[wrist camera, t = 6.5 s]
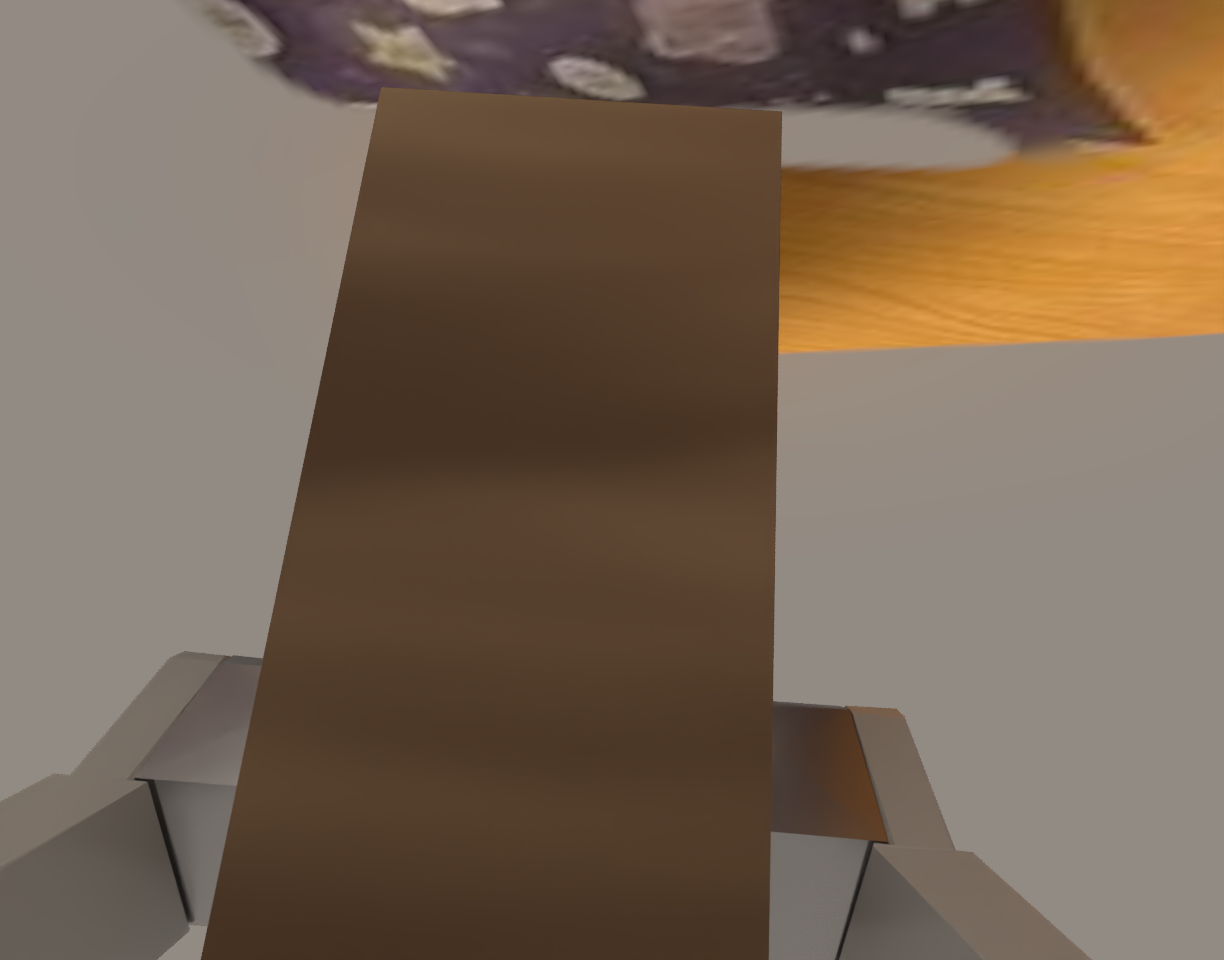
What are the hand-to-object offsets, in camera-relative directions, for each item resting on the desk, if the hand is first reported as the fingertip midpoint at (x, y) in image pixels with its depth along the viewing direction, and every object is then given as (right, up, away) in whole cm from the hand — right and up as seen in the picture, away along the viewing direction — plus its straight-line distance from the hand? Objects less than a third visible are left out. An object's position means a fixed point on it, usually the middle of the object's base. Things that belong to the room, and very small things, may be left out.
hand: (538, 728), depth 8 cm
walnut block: (0, +6, +1) cm, 6 cm away
